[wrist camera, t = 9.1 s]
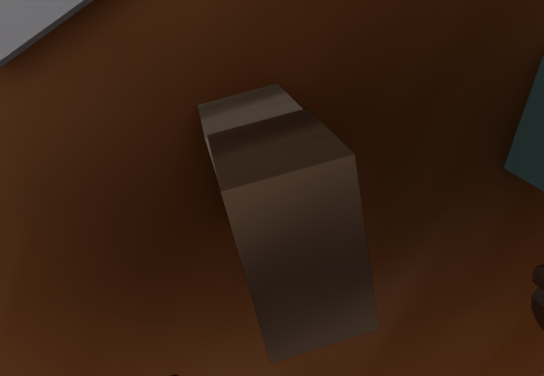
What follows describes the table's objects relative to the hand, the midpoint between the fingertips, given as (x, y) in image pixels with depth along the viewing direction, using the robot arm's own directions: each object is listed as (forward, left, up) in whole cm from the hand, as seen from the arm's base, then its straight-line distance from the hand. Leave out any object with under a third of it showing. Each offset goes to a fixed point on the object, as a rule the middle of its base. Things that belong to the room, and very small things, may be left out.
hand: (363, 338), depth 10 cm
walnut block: (0, 0, -8) cm, 8 cm away
